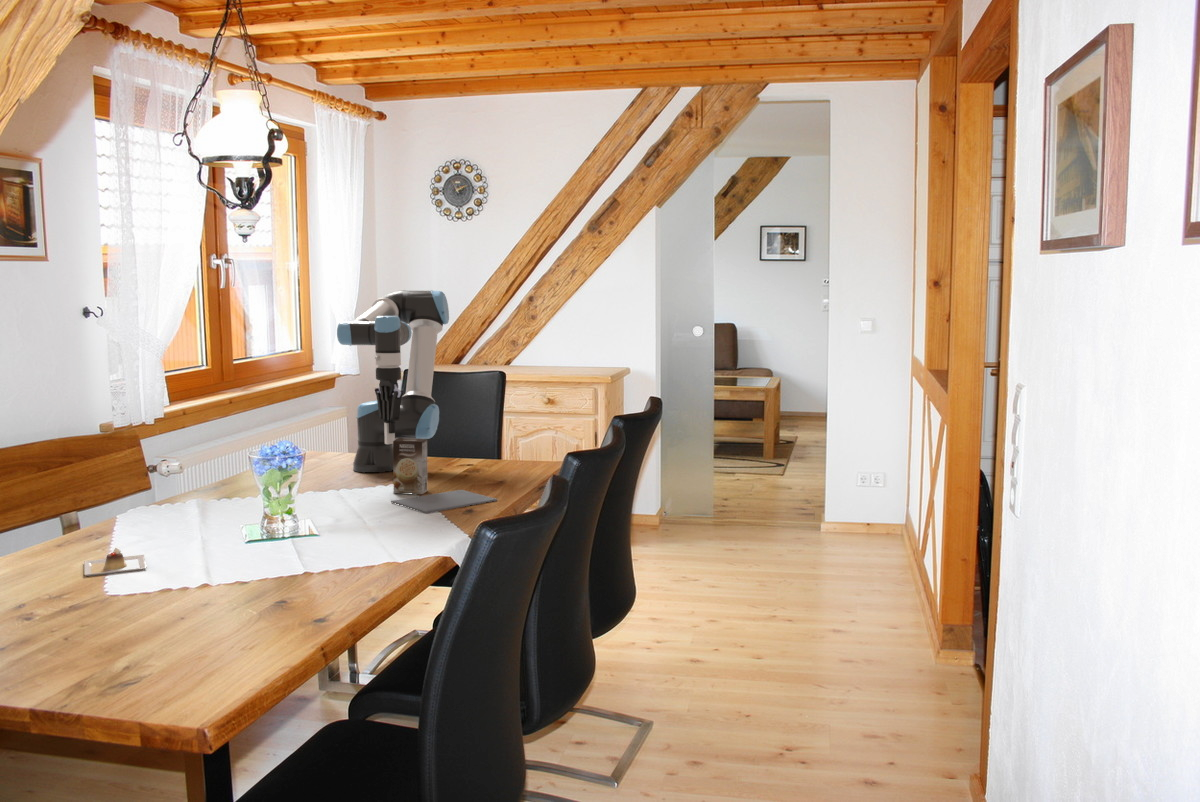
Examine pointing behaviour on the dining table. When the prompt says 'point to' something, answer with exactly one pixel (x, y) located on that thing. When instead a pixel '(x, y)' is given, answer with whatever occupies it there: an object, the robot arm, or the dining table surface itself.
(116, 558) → the dessert
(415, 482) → the coffee box
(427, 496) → the mat
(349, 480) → the dining table surface
